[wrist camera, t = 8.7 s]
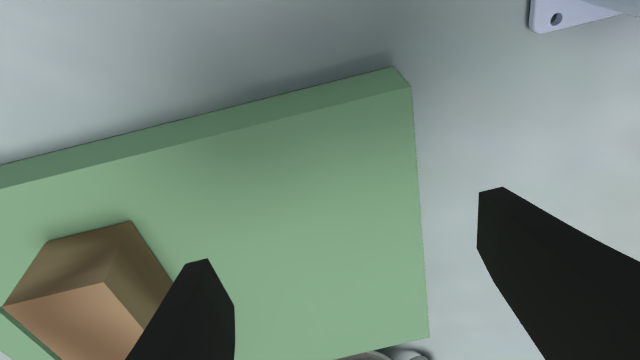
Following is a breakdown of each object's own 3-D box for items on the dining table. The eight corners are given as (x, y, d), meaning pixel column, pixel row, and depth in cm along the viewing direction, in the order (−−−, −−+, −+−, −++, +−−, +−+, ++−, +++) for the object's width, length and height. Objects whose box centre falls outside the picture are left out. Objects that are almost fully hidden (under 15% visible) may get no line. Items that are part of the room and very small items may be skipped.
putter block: (130, 221, 17) (103, 282, 14) (224, 359, 24) (219, 419, 21) (45, 242, 17) (1, 306, 14) (163, 374, 24) (150, 436, 21)
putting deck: (393, 66, 17) (500, 189, 9) (417, 306, 27) (477, 458, 20) (-150, 202, 18) (-474, 424, 10) (73, 387, 28) (1, 566, 20)
